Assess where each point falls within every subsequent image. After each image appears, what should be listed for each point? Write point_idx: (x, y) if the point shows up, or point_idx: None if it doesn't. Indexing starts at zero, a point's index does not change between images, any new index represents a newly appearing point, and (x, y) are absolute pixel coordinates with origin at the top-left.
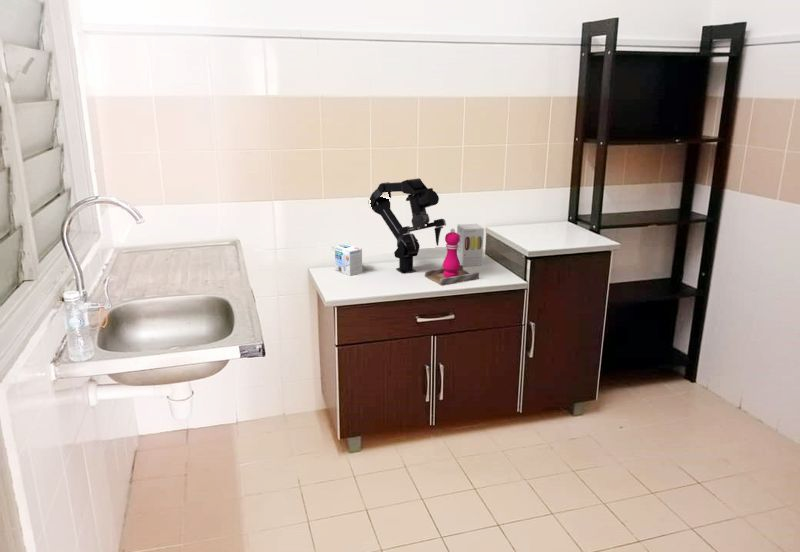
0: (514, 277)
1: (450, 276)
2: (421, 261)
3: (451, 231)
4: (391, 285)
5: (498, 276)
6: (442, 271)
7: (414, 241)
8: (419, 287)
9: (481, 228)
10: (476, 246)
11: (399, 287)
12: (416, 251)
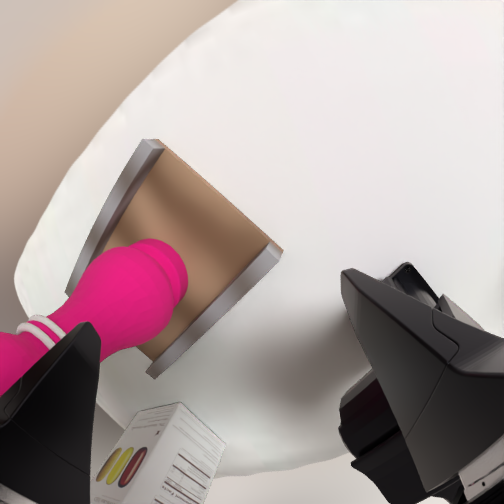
0: None
1: (140, 240)
2: None
3: None
4: (399, 52)
5: None
6: (204, 310)
7: (382, 442)
8: (249, 64)
9: None
10: (118, 455)
11: (348, 32)
12: (357, 382)
